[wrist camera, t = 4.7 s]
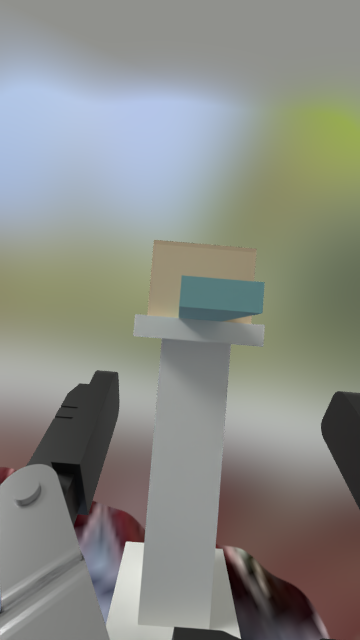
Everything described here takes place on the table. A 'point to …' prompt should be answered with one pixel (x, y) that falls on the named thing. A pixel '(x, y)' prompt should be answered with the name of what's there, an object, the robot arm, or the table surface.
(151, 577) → the stand
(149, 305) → the carton
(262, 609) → the table surface
